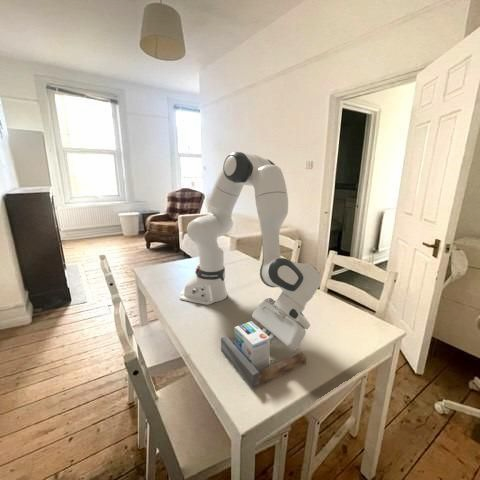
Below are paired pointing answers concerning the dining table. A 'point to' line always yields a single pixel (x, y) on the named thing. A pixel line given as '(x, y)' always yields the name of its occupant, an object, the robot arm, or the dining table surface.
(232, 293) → the dining table surface
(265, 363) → the light bulb box
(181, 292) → the robot arm
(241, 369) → the guide dock
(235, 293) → the dining table surface
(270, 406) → the dining table surface
